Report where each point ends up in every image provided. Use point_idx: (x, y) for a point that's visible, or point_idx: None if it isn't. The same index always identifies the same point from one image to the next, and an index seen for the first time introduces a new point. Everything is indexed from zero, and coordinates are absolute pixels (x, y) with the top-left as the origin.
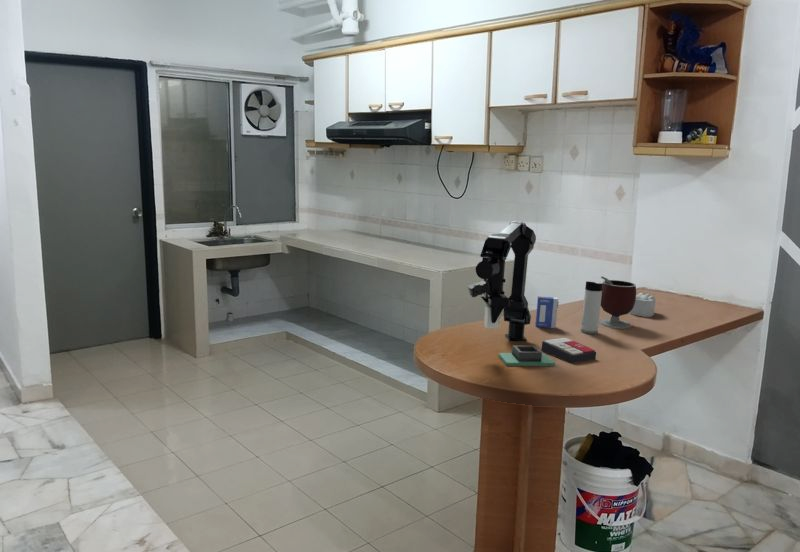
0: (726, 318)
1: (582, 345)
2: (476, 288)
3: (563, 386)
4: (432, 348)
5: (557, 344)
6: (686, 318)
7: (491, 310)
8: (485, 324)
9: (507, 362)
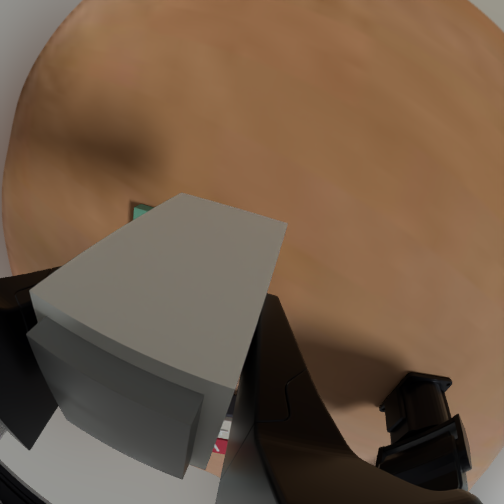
0: None
1: (214, 450)
2: None
3: (29, 261)
4: (427, 8)
5: (226, 426)
6: None
7: (5, 277)
8: (222, 213)
9: (134, 211)
